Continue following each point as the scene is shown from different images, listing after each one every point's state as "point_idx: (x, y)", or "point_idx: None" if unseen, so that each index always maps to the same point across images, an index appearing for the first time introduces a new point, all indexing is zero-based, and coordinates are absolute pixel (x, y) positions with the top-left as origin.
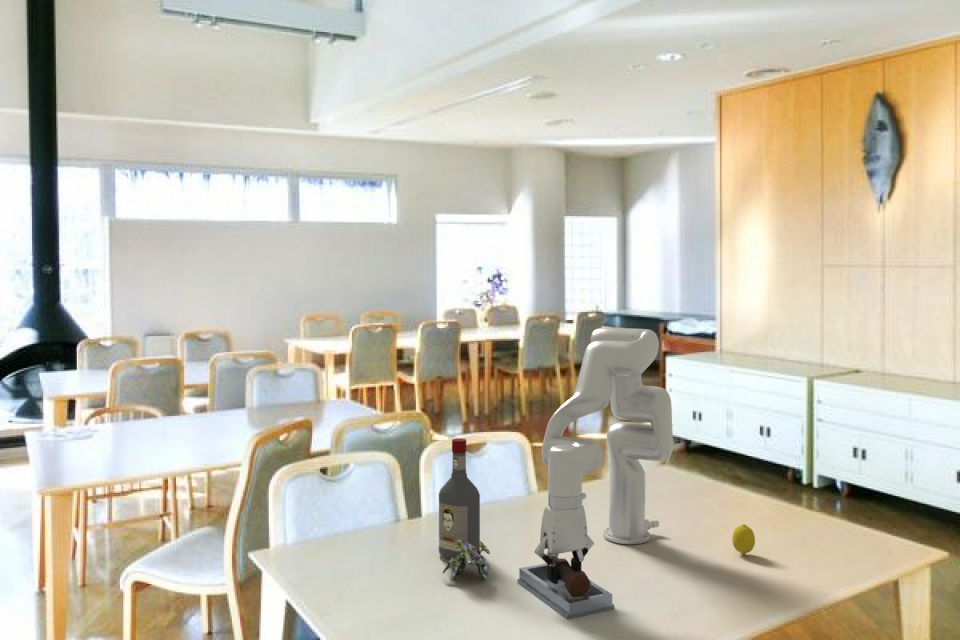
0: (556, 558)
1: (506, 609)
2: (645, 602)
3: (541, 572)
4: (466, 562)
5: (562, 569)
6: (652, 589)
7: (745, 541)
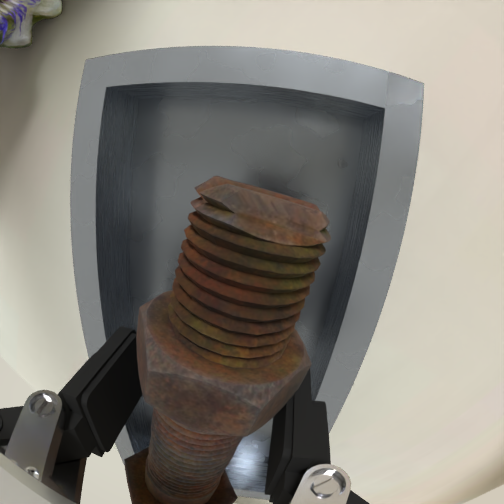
0: (74, 490)
1: (12, 285)
2: (397, 463)
3: (237, 93)
4: None
5: (158, 439)
6: (485, 414)
7: None
